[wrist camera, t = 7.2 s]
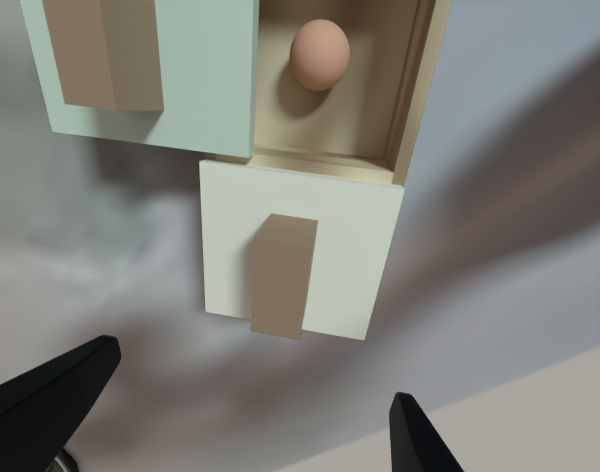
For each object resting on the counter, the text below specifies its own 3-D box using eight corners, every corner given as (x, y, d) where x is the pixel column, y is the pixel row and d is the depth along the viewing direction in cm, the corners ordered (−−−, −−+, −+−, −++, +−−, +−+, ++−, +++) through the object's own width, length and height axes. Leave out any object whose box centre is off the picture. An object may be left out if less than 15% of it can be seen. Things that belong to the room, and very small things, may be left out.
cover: (263, -109, 10) (221, -224, 7) (253, 155, 14) (224, 170, 10) (9, -124, 11) (-146, -232, 7) (66, 130, 15) (-18, 136, 11)
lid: (399, 183, 14) (421, 210, 10) (362, 326, 18) (368, 385, 14) (210, 157, 15) (163, 174, 11) (214, 299, 19) (180, 348, 15)
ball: (353, 31, 15) (356, 13, 12) (344, 95, 16) (344, 92, 13) (297, 26, 15) (287, 7, 12) (292, 89, 16) (281, 84, 14)
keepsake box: (440, -49, 13) (484, -119, 9) (359, 295, 22) (363, 337, 18) (237, -63, 14) (194, -133, 10) (233, 274, 23) (209, 310, 18)
